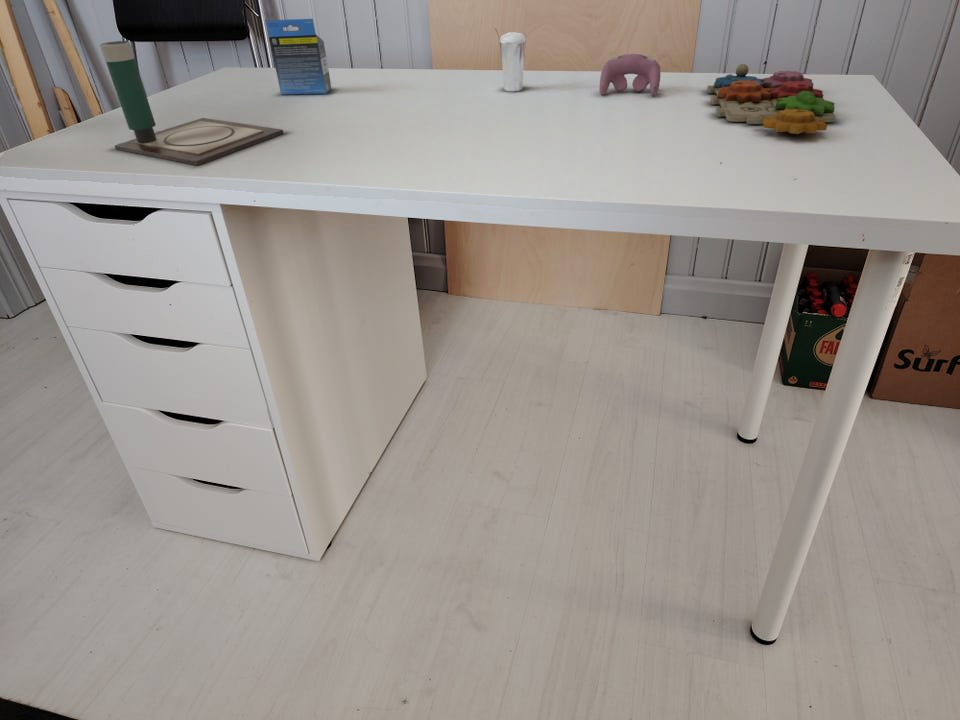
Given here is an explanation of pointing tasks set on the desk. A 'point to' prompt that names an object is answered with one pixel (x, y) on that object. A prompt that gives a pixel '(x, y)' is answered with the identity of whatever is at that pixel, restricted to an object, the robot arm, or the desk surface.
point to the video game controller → (630, 65)
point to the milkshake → (512, 59)
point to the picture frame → (201, 140)
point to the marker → (129, 89)
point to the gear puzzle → (772, 101)
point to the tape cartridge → (299, 57)
